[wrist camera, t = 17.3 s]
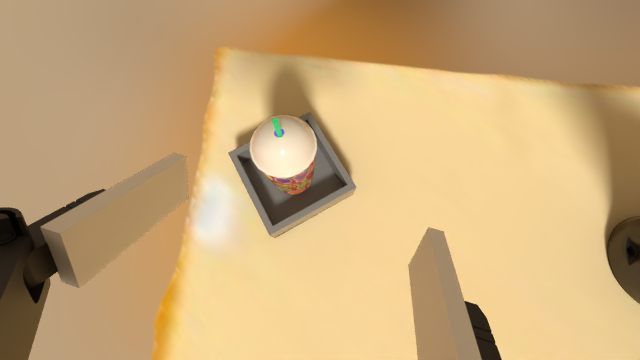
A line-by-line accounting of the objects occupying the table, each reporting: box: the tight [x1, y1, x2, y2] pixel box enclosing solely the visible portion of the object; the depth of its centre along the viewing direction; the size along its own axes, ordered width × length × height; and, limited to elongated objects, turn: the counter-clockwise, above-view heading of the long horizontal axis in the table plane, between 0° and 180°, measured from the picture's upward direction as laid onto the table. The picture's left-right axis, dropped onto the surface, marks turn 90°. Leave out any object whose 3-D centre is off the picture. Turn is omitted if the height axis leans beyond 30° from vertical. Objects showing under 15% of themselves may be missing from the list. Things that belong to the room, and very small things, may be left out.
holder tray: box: [229, 112, 356, 238], centre depth 46 cm, size 15×15×5 cm
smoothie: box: [250, 115, 317, 194], centre depth 38 cm, size 8×8×20 cm
